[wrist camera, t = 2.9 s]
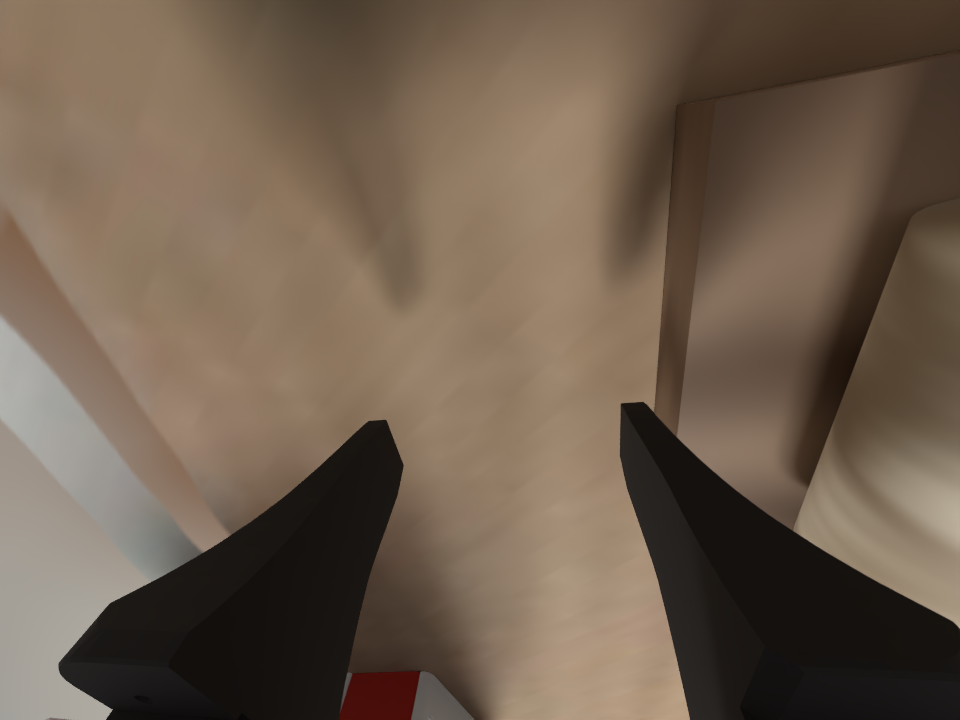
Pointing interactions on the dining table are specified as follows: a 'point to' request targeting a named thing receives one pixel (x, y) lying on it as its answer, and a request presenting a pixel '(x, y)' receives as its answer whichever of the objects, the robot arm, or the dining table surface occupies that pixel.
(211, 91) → the dining table surface
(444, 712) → the red white striped box
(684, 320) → the board
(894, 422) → the roller
